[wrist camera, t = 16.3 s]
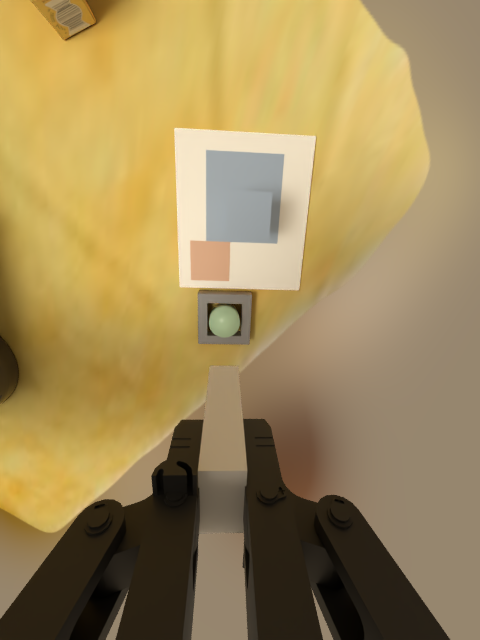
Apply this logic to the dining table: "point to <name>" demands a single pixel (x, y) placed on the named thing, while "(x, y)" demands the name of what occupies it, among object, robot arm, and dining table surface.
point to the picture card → (210, 207)
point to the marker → (248, 214)
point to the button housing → (228, 298)
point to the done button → (224, 320)
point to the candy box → (66, 15)
